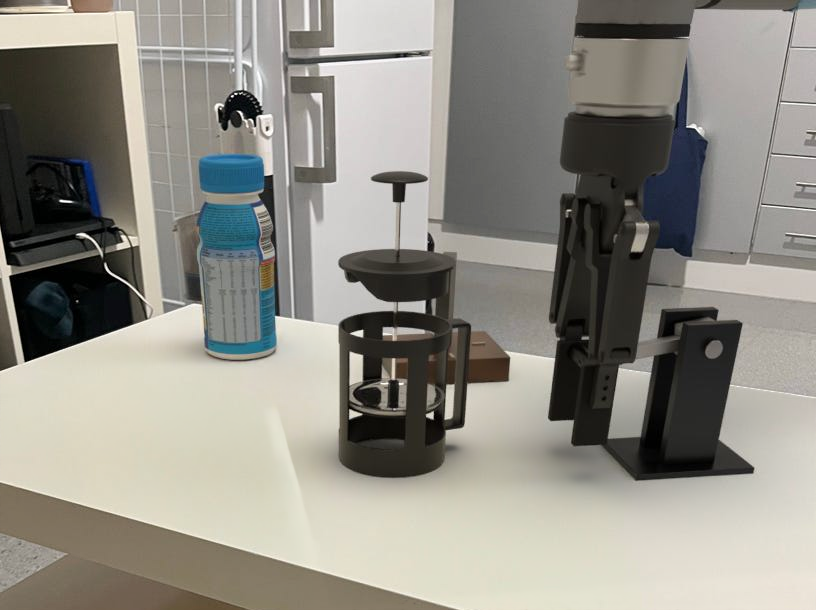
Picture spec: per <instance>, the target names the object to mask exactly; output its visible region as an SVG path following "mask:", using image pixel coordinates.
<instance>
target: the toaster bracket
mask: <svg viewBox="0 0 816 610" xmlns="http://www.w3.org/2000/svg"><path fill="white" fill-rule="evenodd" d="M719 311H720V310H719V308H716V307H714V306H698V307H695V306H694V307H677V308H676V307H673V308H672V307H671V308H661V311H660V317H659V322H658V329H657V335H656V338H661V337H666V336H671V335H674V332H675V323H680V322H683V325H682V331H681V336H680V342H679V348H678V353H677V355H676V354H675V353H674V352H671V353H666V354H661V355H656V356H653V358H652V365H651V371H650V377H649V383H648V389H647V395H646V400H645V401H646V402H645V407H644V414H643V419H642V425H641V431H640V436H630V437H615V438H614V437H613V438H608V440H607V445H601V447H603V449H605V450H606V452H608V453H609V455H610V456H611V457H612V458H613V459H614V460H615V461H616V462H617V463H618V464H619V465H620V466H621V467H622V468H623V469H624V470H625V471H626V472H627V473H628V474H629V475H630V476H631V477H632V478H633V479H634V480H635V481H636V482H640V481H654V480H671V479H673V480H674V479H688V478H703V477H719V476H734V475H752V474H754V472H755V469H756V468H755V467H754V466H753V465H752V464H750V462H748V461H747V460H745V459H744V458H743V457H742V456H741V455H739V454H738V453H737V452H735V451H734V450H733V449H732V448H730V447H729V446H728V445H727V444H725V443H724V442H723V441H722V440H720V435H721V432H722V431H721V430H722V425H723V421H724V416H725V411H726V406H727V403H728V398H729V391H730V387H731V383H732V377H733V372H734V368H735V363H736V359H737V355H738V354H737V353H738V349H739V344H740V340H741V339H740V338H741V334H742V330H743V325H744V323H743V322H741V321H740V320H739V319H723V320H721V319H720V320H718V315H719ZM706 317H709V318H711V319H713V320H715V321H697V322H685V321H690V320H695V319H701V318H706Z"/></svg>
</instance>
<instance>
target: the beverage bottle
mask: <svg viewBox="0 0 816 610" xmlns="http://www.w3.org/2000/svg"><path fill="white" fill-rule="evenodd" d="M198 177H199V179H198V180H199V187H200V190H201V194H203V195H207V196H206V199H205V201H204V203H203V204H202V206H201V208H200V211H199V213H198V216H197V218H196V223H195V224H196V225H195V231H196V234H197V235H198V237H199V243H198V246H197V248H196V261H197V264H198V271H199V283H200V297H201V309H202V323H203V334H204V336H203V337H204V338H203V341H204V349H205V351H206V352H207V354H209V355H211V356H213V357H216V358H218V359H223V360H224V359H225V360H232V361H233V360H234V361H242V360H243V361H244V360H245V361H246V360H253V359H259V358H263V357H266V356H269V355H271V354H272V353H273V352H274V351H276V349H277V346H278V345H277V340H278V339H277V327H276V325H277V324H276V293H275V264H274V263H275V261H276V250H275V247H274V244H273V242H272V240H271V236H272V233H273V231H274V225H273V221H272V218H271V215H270V213H269V211H268V209H267V207H266V205H265V203H264V202H263V201H262V199H261V198H260V196H259V195H260V194H262V193H263V192H264V188H265V164H264V160H263V157H261V156H259V155H255V154H245V153H221V154H212V155H211V154H210V155H205V156H201V157H200V158H199V159H198Z"/></svg>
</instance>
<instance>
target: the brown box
mask: <svg viewBox="0 0 816 610" xmlns="http://www.w3.org/2000/svg"><path fill="white" fill-rule="evenodd" d="M431 337H434V332H431V333H429V332H428V333H427V332H426V333H411V334H410V333H407V334H404V333H403V334H397V341H407V340H419V339H426V338H431ZM457 337H458V331H455V332H453V331H452V340H451V346H450V347H449V350H448V368H447V385H448V384H455V370H456V354H457ZM383 340H389V341H393V334H383ZM436 355H437V354H434V355H430V356H429V365H428V383H429V384H432V385H435V375H436ZM407 361H408V358H399V359H396V378H398V379H407ZM382 366H383V367H384V369H385V371H386V372H387V374H388V375H389V377H390V378H392V358H382ZM510 366H511V355H509V354H508V353H507V352H506V351H505V350H504V349H503V348H502V347H501V346H500V345H499V344H498V343H497V342H496V341H495V340H494V339H493V338H492V336H491V335H490V334H489V333H487V331H486V330H475V331H471V339H470V354H469V369H468V383H467V384H469V383H486V382H487V383H488V382H506V381H507V382H509V380H510V379H509V377H510Z"/></svg>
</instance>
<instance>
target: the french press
mask: <svg viewBox="0 0 816 610" xmlns="http://www.w3.org/2000/svg"><path fill="white" fill-rule="evenodd" d="M370 180H371V181H372V182H374V183H379V184H387V185H388V184H390V185H391V188H392V203H395V235H394V236H395V238H394V240H395V241H394V242H395V243H394V248H379V249H368V250H360V251H355V252H352V253H348V254H345V255H343V256H341V257H340V258H339V259H338V261H337V264H338V267H339V268H340V269H341V270H342V271H344V272H343V275H344V279H345V280H346V281H347V283H349V284H350V283H353V284H355V283H359V282H360V284H361V285H362V286H363V287H364V288H365V290H367V292H369V293H370V294H371V295H372V296H373V297H374V298H375V299H376V300H379V301H383V302H386V303H393V309H392V310H380V311H369V312H362V313H356V314H353V315H350V316H347V317H344V318H343V319H342V320H340V321H339V323H338V327H337V328H338V332H337V334H338V338H337V339H338V340H337V341H338V345H339V346H338V350H339V353H338V357H339V358H338V359H339V361H338V363H339V365H338V366H339V367H338V369H339V370H338V371H339V372H338V373H339V375H338V376H339V377H338V379H339V380H338V381H339V382H338V383H339V393H338V394H339V395H338V396H339V397H338V398H339V404H338V405H339V407H338V409H339V412H338V413H339V414H338V415H339V420H338V421H339V426H338V460H339V462H340V463H341V465H342V466H343V467H345V468H346V469H348V470H349V471H352V472H354V473H357V474H361V475H364V476H369V477H376V478H383V479H385V478H386V479H403V478H405V479H406V478H412V477H413V478H414V477H417V476H423V475H426V474H429V473H432V472H433V471H436V470H437V469H439V468H440V467H441V466H443V464H444V463H445V456H446V455H445V453H446V452H445V451H446V437H447V431H450V430H459V429H462V428H464V427H465V425H466V424H465V423H466V412H467V411H466V410H467V397H468V384H469V383H468V369H469V354H470V339H471V332H472V324H471V323H470V322H468V321H466V320H464V319H462V318H460V317H458V318H453V319H447V320H446V319H443V318H441V317H438V316H435V314H430V313H425V312H419V311H418V312H417V311H406V310H399V303H415V302H423V301H430V300H436V298H438V297H442V296H443V295H445V294H447V293H448V287H449V271H451V270H453V269H454V268H455V266H456V267H457V261H455V259H454V258H452V257H450V256H447V255H445V254H443V253H440V252H436V251H431V250H422V249H411V248H401V220H402V219H401V217H402V215H401V214H402V203H405V202H406V191H407V190H406V189H407V185H408V184H411V185H412V184H420V183H426V182H427V181H428V180H429V177H428V176H426V175H425V174H422V173H420V172H419V173H418V172H415V171H406V170H404V171H403V170H392V171H391V170H390V171H384V172H379V173H376V174H374V175H372V176H371V177H370ZM384 328H392V335H393V341H389V340H383V335H384ZM398 328H403V329H404V328H405V329H413V330H414V329H415V330H422V331H427V332H431V333H437V334H438V336H435V337H431V338H426V339H419V340H407V341H397V335H398ZM452 329H453V330H454V329H457V332H458V337H457V354H456V370H455V383H454V387H453V403H452V405H453V406H452V416H451V417H450V418H447V419H446V417H445V416H446V401H447V387H448V386H447V385H448V384H447V368H448V350H449V347H450V346H451V335H452V332H453V331H452ZM360 331H362V337H361V336H358V335H355V334H352V333H356V332H360ZM351 353H353V354H355V355H359V356H362V380H361V381H358V382H355V383H353V384H350V382H351V381H350V376H351V374H350V373H351V369H350V368H351V366H350V365H351V364H350V363H351V362H350V360H351V359H350V358H351V355H350V354H351ZM434 354H437V355H436V375H435V384H429V383H428V365H429V356H430V355H434ZM382 358H392V378H391V377H390V378H388V377H387V378H386V377H385V378H383V364H382ZM399 358H408V361H407V379H398V378H396V359H399ZM350 411H352V412H355V413H358V414H359V415H358V416H354V417H351V418H350ZM431 413H433V418H431V417H428V416H427V415H429V414H431ZM383 439H384V440H385V439H387V440H388V439H392V440H393V439H394V440H396V439H397V440H404V445H403V446H404V448H400V449H398V448H397V449H389V448H377V447H370V446H365V445H362V444H359V443H363V442H367V441H373V440H383Z"/></svg>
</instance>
